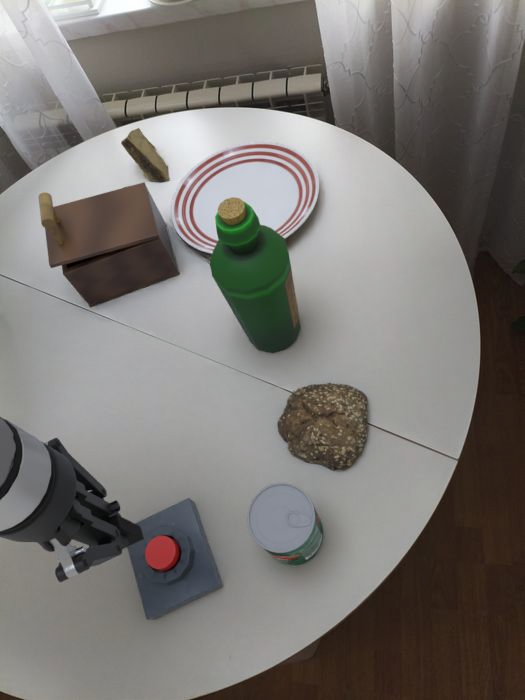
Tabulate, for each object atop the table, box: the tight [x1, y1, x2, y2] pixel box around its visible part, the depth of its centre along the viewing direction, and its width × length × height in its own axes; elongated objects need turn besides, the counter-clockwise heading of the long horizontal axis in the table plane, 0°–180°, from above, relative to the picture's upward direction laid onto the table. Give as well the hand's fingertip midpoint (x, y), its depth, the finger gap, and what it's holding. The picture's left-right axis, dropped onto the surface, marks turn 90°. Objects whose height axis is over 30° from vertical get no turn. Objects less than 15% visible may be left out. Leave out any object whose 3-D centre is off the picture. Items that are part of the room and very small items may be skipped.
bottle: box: [208, 197, 301, 353], centre depth 76 cm, size 11×11×28 cm
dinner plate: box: [170, 141, 320, 255], centre depth 101 cm, size 28×27×3 cm
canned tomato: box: [246, 482, 325, 567], centre depth 68 cm, size 8×8×11 cm
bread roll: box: [276, 382, 369, 471], centre depth 77 cm, size 13×12×5 cm
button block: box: [126, 497, 224, 621], centre depth 72 cm, size 12×10×4 cm
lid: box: [37, 182, 159, 269], centre depth 89 cm, size 18×13×7 cm
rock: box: [120, 127, 171, 183], centre depth 110 cm, size 11×9×10 cm
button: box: [145, 536, 180, 571], centre depth 70 cm, size 4×4×2 cm
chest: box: [61, 186, 180, 308], centre depth 97 cm, size 17×13×10 cm
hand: (131, 537), depth 62 cm, fingers closed
